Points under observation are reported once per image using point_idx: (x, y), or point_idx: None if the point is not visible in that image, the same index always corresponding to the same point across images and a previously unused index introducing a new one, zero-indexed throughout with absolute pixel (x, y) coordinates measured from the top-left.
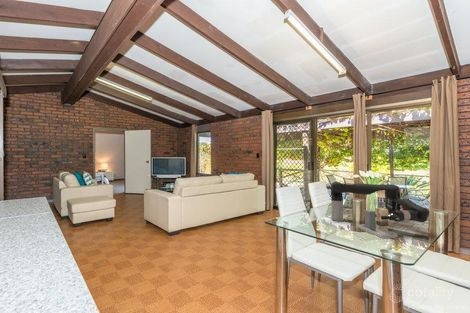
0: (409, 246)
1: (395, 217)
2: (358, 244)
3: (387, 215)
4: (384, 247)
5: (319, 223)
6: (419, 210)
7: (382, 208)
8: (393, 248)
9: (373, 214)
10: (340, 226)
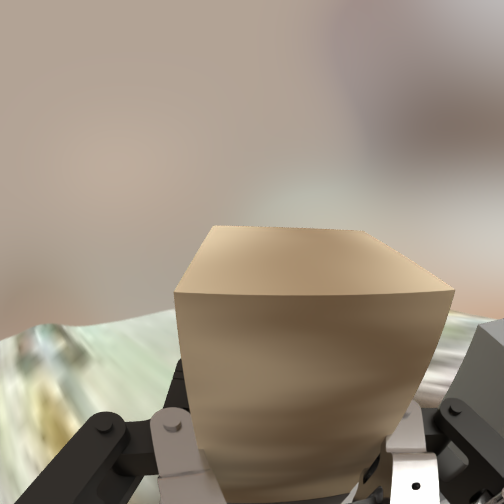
0: (18, 483)
1: (40, 485)
2: (173, 333)
3: (200, 435)
4: (88, 382)
5: (458, 315)
6: None
7: (356, 263)
8: (57, 400)
9: (494, 395)
10: (454, 362)
